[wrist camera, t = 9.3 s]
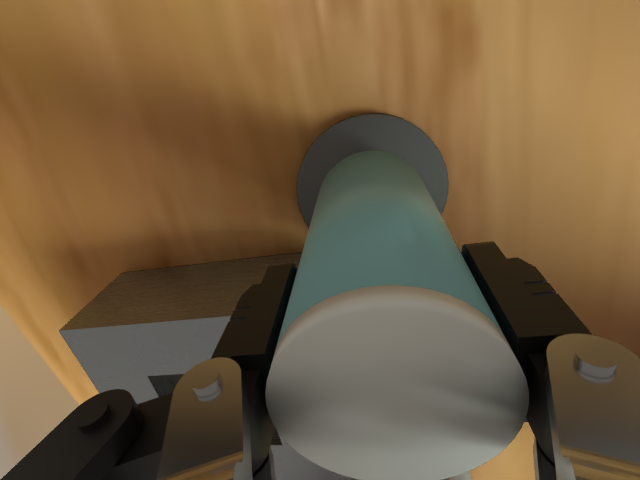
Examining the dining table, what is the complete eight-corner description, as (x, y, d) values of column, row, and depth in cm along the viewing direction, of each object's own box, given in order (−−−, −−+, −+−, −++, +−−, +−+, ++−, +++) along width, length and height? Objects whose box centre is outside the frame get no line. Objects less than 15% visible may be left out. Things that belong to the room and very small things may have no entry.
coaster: (443, 99, 15) (446, 101, 14) (447, 244, 18) (449, 250, 18) (284, 127, 16) (281, 130, 16) (313, 259, 19) (312, 264, 19)
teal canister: (423, 141, 14) (542, 294, 5) (428, 244, 16) (519, 483, 7) (308, 160, 15) (234, 321, 6) (327, 256, 17) (294, 484, 8)
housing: (320, 250, 19) (309, 309, 15) (351, 402, 24) (350, 479, 20) (121, 272, 21) (58, 330, 17) (190, 409, 26) (156, 480, 22)
